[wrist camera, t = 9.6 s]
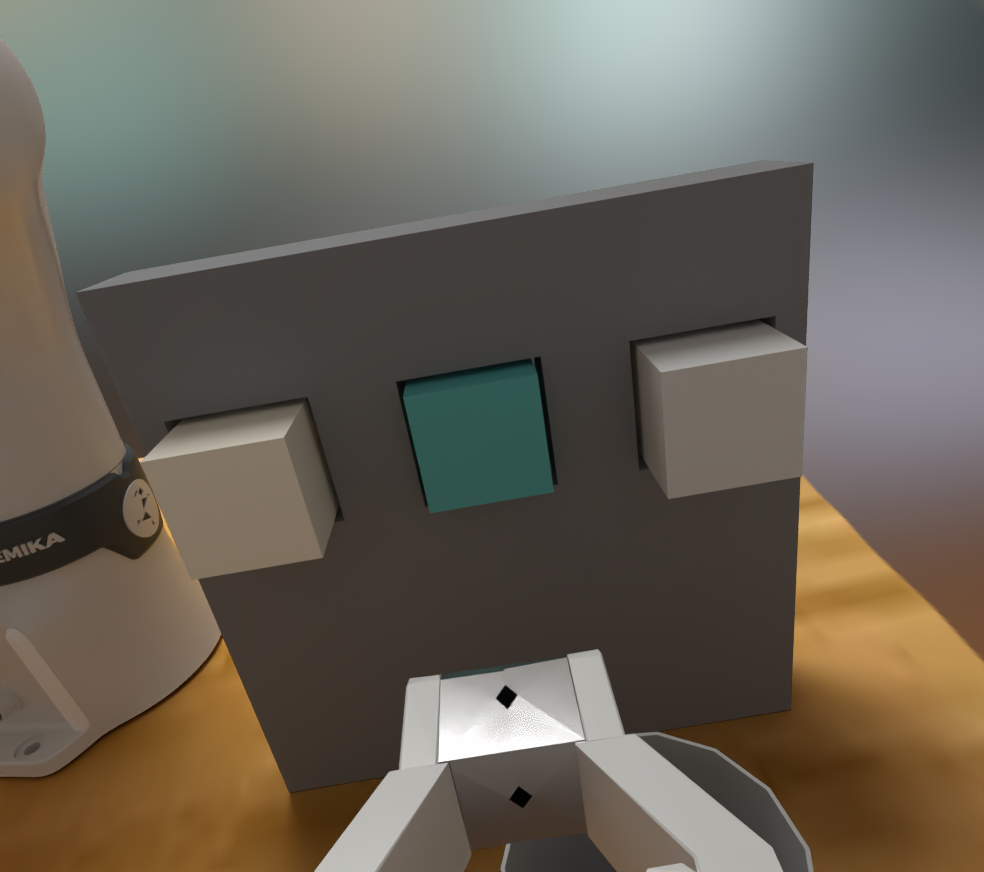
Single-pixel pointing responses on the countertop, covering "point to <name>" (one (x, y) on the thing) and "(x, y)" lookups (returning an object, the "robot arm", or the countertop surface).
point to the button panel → (500, 525)
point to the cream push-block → (245, 488)
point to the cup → (583, 868)
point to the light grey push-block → (719, 407)
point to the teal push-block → (479, 435)
